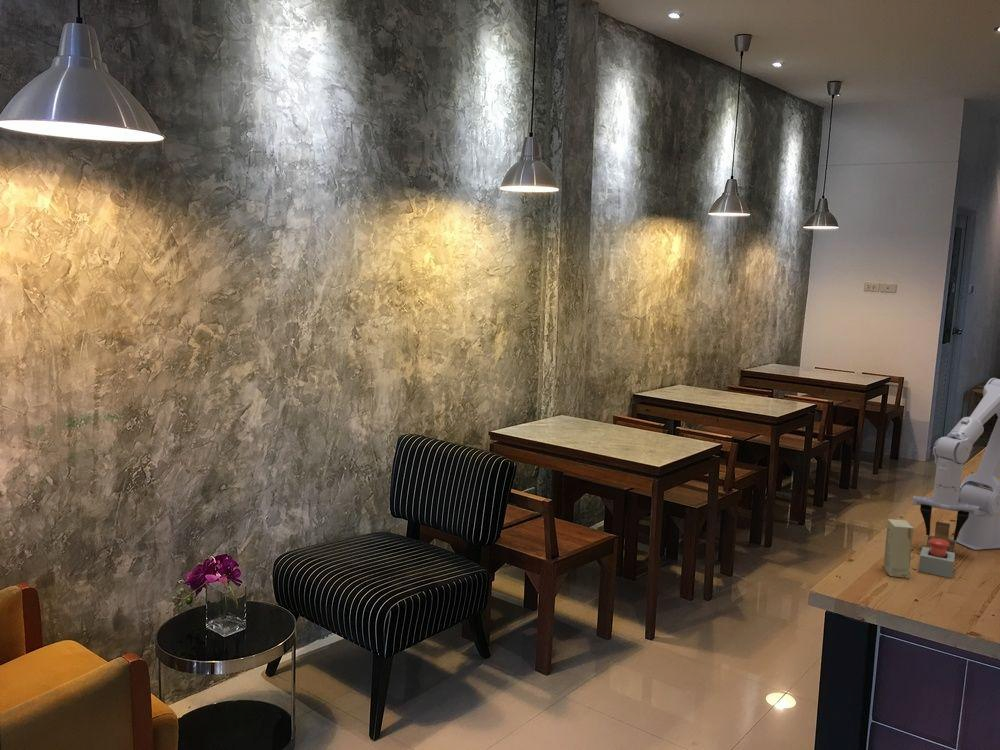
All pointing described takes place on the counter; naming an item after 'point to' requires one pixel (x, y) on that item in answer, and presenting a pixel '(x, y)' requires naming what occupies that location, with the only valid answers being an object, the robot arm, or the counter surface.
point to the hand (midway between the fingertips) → (941, 536)
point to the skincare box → (898, 548)
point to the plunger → (938, 547)
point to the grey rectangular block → (936, 563)
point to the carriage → (942, 535)
